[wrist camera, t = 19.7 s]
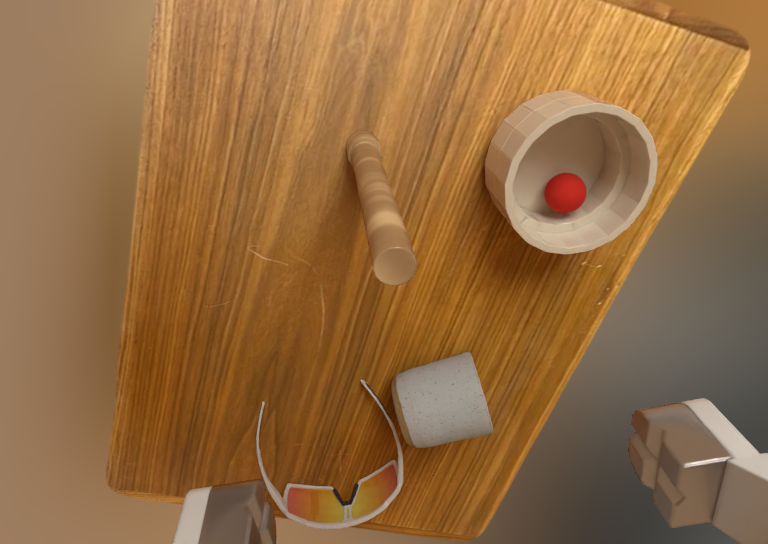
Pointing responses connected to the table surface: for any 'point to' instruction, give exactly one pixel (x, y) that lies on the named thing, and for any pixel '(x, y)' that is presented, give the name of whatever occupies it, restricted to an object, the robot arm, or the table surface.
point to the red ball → (565, 192)
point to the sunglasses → (325, 502)
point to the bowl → (571, 169)
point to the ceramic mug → (441, 402)
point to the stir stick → (380, 212)
